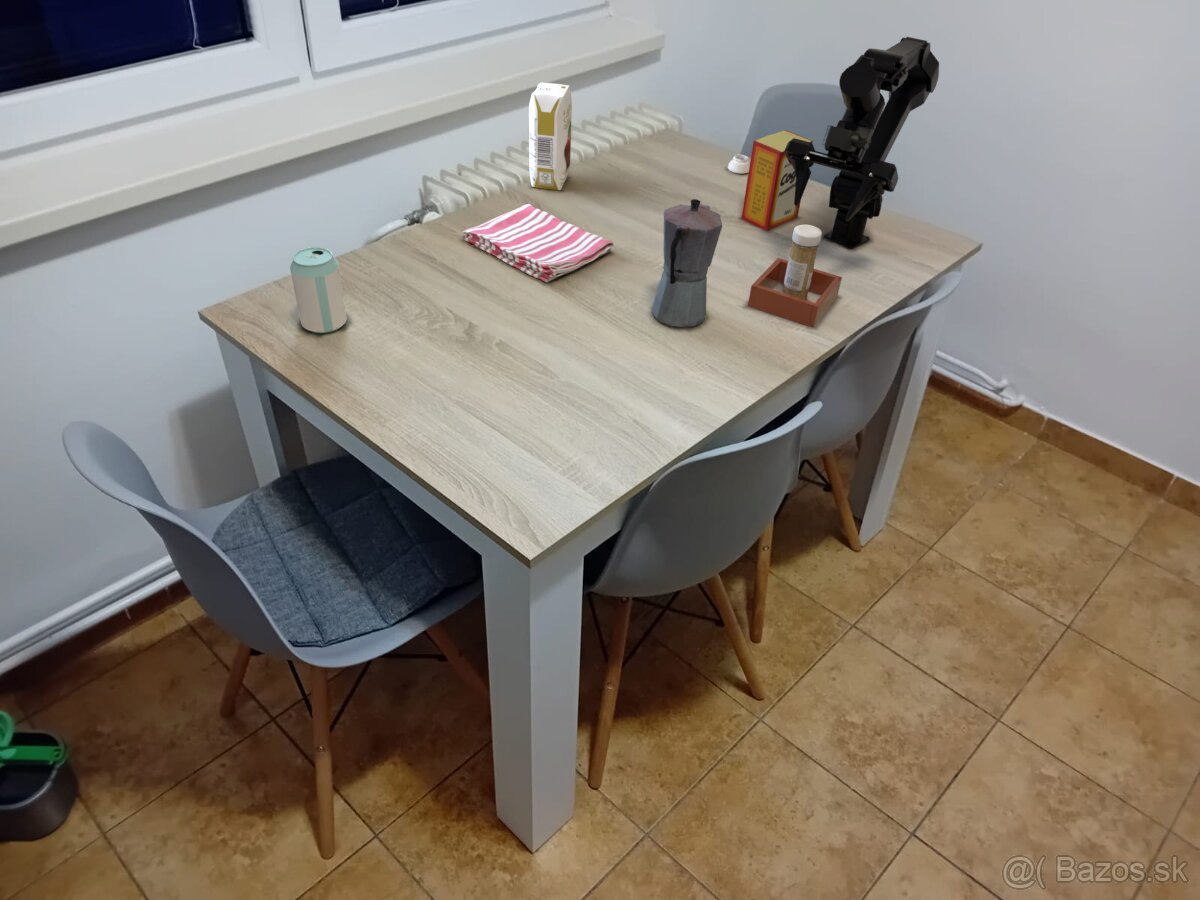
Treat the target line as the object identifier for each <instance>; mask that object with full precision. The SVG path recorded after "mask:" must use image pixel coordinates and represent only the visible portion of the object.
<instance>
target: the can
mask: <svg viewBox="0 0 1200 900" xmlns="http://www.w3.org/2000/svg"><path fill="white" fill-rule="evenodd" d="M289 269H290V274H291V279H292V285H293V290H294V295H295V301H296V305H297V311H298V315H299V320H300V325H301V326H302V328H304V329H305V330H306V331H309V332H312V333H316V334H327V333H328V334H329V333H332V332H334V331H337V330H338V329H340V328H341V327H343V325H345V324H346V323H347V320H348V316H347V311H346V310H347V309H346V304H345V298H344V291H343V290H344V289H343V284H342V278H341V277H342V276H341V273H340V265H339V261H338V259H337V258H336V257H334V255H333V252H332V251H331V250H330V249H328V248H325V247H322V246H308V247H304V248H302V249H299V250H297V251H296V252H295V253H294V254H293V255H292V262H291V263H290V266H289Z"/></svg>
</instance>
